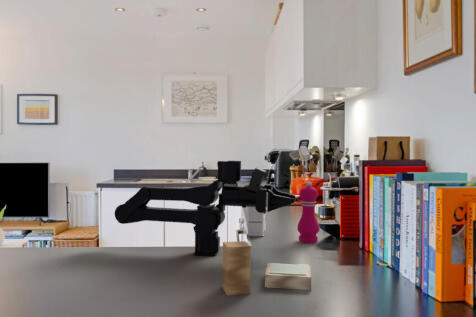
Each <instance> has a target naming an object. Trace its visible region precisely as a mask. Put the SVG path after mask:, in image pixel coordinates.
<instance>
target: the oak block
mask: <svg viewBox="0 0 476 317" xmlns="http://www.w3.org/2000/svg"><path fill="white" fill-rule="evenodd" d="M251 250H252V246H251V245H250V244H249V243H248V242H246V241H245V240H244V241H240V240H239V241H223V242H222V290H223V291H224V293H225V294H226V296H236V295H237V294H239V295H249V294H251V262H252V261H251V260H252V258H251V255H252V254H251V253H252V251H251ZM237 296H238V295H237Z"/></svg>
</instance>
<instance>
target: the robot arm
mask: <svg viewBox="0 0 476 317" xmlns="http://www.w3.org/2000/svg"><path fill="white" fill-rule="evenodd" d="M216 164H217V165H216V166H217V179H216V180H213V182H211V183H210V184H205V185H204V184H203V185H197V186H191V187H174V186H171V187H169V186H168V187H166V186H151V185H148V186H143V187H140V189H139V190H138V191H137V192H136V193H135V194H133V195H132V196H131V197H130V198H128V200H126V201H125V202H124V203H122V204H118V206H117V207H115V210H114V217H115V220H116V221H117V223H119V224H121V225H127V224H133V223H139V222H145V221H146V222H147V221H148V222H150V221H151V222H165V223H182V224H192V225H194V226H193V231H194V252H193V253H192V254H193V255H194V256H211V257H212V256H217V254H218V253H219V252H220V250H221V237H220V236H219V231H218V229H219V226H220V225H222V224H223V223H224V221H225V219H226V214H225V211H226V206H229V207H241V208H244V209H245V208H248V207H255V209H256V210H257V211H258V213H266V214H267V213H270V212H272V211H276V210H278V209H280V208H283V207H287V206H289V205H293V204H295V200H296V195H295V194H292V193H288V192H285V191H280V190H278V189H277V188H276V187H275V185H273V184H268V183H267V184H264V185H262V183H263V181H264V178H265V176H266V175H267V172H268V171H267V170H265V169H262V168H260V167H258V166H257V167H255V168H254V170H253V171H251V174H250V179H249V180H250V181H249V183H248V184H245V185H244V186H234V185H237V184H238V182H239V181H241V180H242V160H217V162H216ZM220 191H221V192H220ZM217 200H218V203H217V204H216V201H217ZM150 201H170V202H172V201H175V202H176V201H177V202H187V203H191V204H195V205H197V206H196V209H194V208H193V209H192V208H191V209H190V208H189V209H188V208H174V207H171V208H169V207H153V206H148V204H149V202H150ZM266 208H267V209H266Z"/></svg>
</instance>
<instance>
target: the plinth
mask: <svg viewBox="0 0 476 317" xmlns="http://www.w3.org/2000/svg"><path fill="white" fill-rule="evenodd" d="M266 287H267V289H268V288H269V289H273V288H274V289H287V290H288V289H289V290H302V291H303V290H306V291H311V290H312V273H311V266H310V264H299V263H279V262H276V263H275V262H267V265H266V269H265V273H264V288H266Z"/></svg>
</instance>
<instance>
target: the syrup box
mask: <svg viewBox="0 0 476 317" xmlns="http://www.w3.org/2000/svg"><path fill="white" fill-rule="evenodd" d="M266 214H267V212H266V213H258V211H257V210H256V209H255V207H247V236H249V237H261V236H263V237H264V236H265V235H266V234H267V231H266V230H267V229H266V228H267V226H266V223H267V222H266V221H267V220H266V218H267V215H266Z"/></svg>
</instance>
